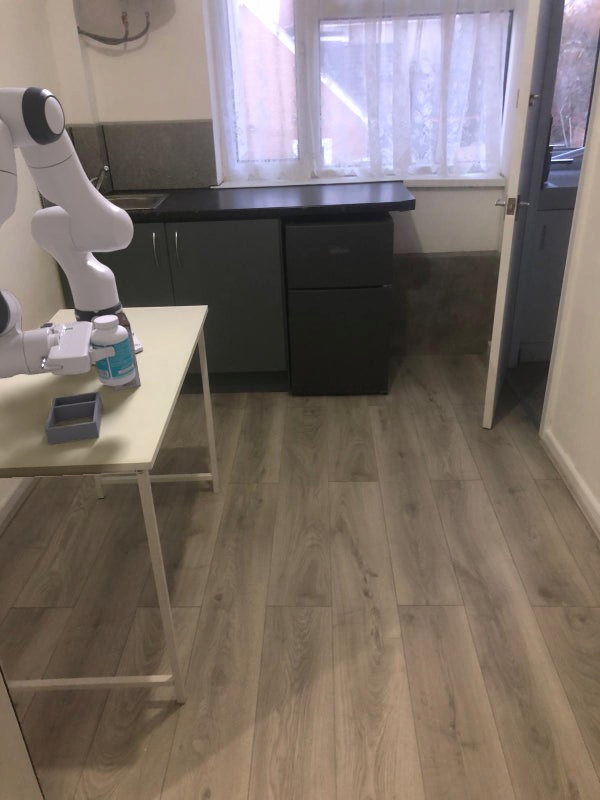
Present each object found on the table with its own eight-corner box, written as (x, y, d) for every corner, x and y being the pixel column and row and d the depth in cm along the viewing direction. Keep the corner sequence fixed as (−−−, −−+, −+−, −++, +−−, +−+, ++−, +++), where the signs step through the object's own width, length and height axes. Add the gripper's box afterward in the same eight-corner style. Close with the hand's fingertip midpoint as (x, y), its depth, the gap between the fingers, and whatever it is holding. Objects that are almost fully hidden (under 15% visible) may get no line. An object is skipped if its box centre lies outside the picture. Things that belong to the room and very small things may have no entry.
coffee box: (109, 376, 161) (97, 315, 154) (135, 371, 163) (124, 311, 156) (114, 391, 153) (101, 327, 146) (141, 385, 155) (130, 322, 148)
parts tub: (56, 411, 146) (53, 397, 144) (102, 405, 147) (99, 391, 146) (49, 444, 133) (45, 429, 131) (99, 437, 134) (95, 422, 133)
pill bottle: (139, 371, 139) (128, 311, 133) (132, 386, 132) (120, 324, 126) (104, 373, 139) (92, 313, 132) (95, 388, 132) (82, 326, 126)
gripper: (33, 356, 119) (110, 346, 121) (47, 319, 137) (114, 312, 139) (41, 386, 122) (116, 377, 124) (53, 347, 140) (119, 339, 142)
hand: (115, 342), depth 132 cm, fingers closed on pill bottle, 7 cm apart
